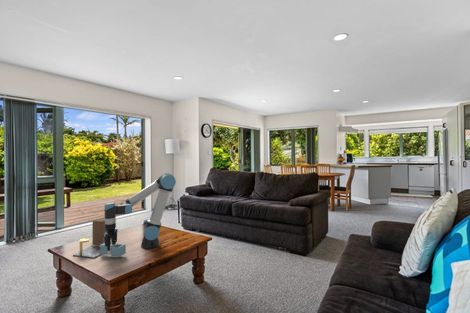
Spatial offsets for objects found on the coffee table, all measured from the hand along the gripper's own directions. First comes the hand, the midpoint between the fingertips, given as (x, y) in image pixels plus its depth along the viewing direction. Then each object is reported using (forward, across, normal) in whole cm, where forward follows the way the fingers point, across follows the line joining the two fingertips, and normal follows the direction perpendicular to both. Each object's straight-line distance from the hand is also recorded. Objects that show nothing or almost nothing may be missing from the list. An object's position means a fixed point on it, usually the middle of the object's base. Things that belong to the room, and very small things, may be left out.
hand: (111, 253), depth 189 cm
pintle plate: (+2, -4, -20) cm, 20 cm away
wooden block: (+2, -26, -32) cm, 41 cm away
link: (0, 0, +1) cm, 1 cm away
